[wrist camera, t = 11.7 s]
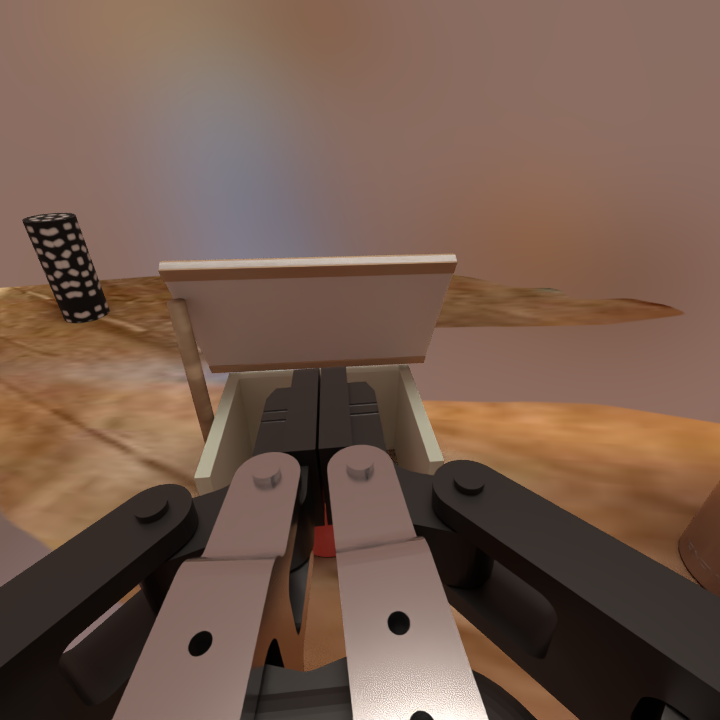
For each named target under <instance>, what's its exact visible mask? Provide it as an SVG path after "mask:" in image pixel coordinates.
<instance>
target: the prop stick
mask: <svg viewBox="0 0 720 720" xmlns="http://www.w3.org/2000/svg"><path fill="white" fill-rule="evenodd" d="M167 306H168V310H169V313H170V317H171V321H172V324H173V328H174V332H175V335H176V339H177V343H178V346H179V350H180V354H181V357H182V361H183V365H184V368H185V372H186V376H187V379H188V383H189V387H190V391H191V394H192V398H193V402H194V405H195V409H196V413H197V416H198V420H199V424H200V427H201V431H202V435H203V438H204V442H205V444H206V441H207V438H208V435H209V433H210V430H211V427H212V424H213V421H214V415H213V411H212V406H211V402H210V398H209V394H208V390H207V386H206V382H205V378H204V374H203V370H202V366H201V362H200V357H199V353H198V349H197V345H196V341H195V337H194V333H193V329H192V325H191V321H190V317H189V312H188V308H187V304H186V300H185V299H183V298H176V299H171V300H169V301H168V302H167Z"/></svg>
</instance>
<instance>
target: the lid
mask: <svg viewBox="0 0 720 720" xmlns="http://www.w3.org/2000/svg"><path fill="white" fill-rule="evenodd" d="M456 265H457V260H456V256H455V254H420V255H383V256H345V257H344V256H343V257H306V258H267V259H226V260H188V261H161V262H160V265H159V268H158V271H159V274H160V275H161V277H162V279H163V281H164V282H165V283H166V285H167V287H168V289H169V290H170V292H171V294H172V296H173V298H174V299H176V298H183V299H185V300H186V304H187V308H188V312H189V317H190V321H191V325H192V329H193V333H194V337H195V340H196V342H197V344H198V346H199V348H200V349H201V351H202V353H203V355H204V357H205V359H206V361H207V363H208V365H209V368H210V370H211V372H212V373H225V372H246V371H266V370H287V369H307V368H325V367H339V366H346V367H348V366H369V365H387V364H408V363H409V364H410V363H424V360H425V355H426V352H427V349H428V346H429V343H430V340H431V337H432V334H433V331H434V328H435V325H436V322H437V319H438V316H439V313H440V310H441V307H442V304H443V301H444V298H445V295H446V292H447V289H448V286H449V283H450V280H451V277H452V274H453V273H454V271H455V268H456Z"/></svg>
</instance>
